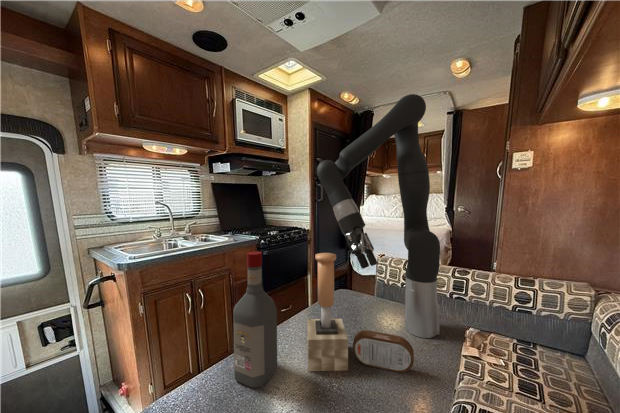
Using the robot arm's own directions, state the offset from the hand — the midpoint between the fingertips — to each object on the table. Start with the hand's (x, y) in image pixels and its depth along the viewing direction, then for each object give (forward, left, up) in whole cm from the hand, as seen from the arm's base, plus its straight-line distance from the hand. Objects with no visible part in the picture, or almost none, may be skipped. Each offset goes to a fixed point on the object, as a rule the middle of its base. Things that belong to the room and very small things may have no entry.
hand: (370, 266), depth 69 cm
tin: (0, +9, -24) cm, 25 cm away
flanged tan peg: (+14, +5, -16) cm, 22 cm away
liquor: (+32, +10, -24) cm, 41 cm away
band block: (+14, +5, -23) cm, 27 cm away
